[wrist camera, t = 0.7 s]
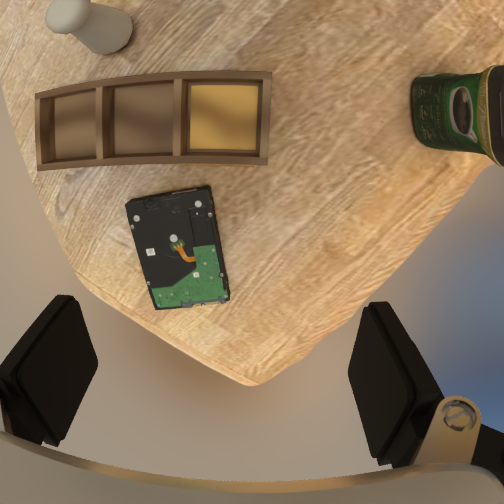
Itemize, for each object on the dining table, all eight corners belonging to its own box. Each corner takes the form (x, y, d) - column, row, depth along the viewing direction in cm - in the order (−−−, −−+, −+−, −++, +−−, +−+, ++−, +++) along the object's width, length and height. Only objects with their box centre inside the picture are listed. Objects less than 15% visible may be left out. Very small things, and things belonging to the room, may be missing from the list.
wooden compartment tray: (52, 93, 31) (34, 93, 27) (269, 77, 31) (271, 72, 27) (54, 167, 35) (37, 173, 31) (265, 162, 35) (267, 168, 31)
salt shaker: (95, 62, 29) (33, 48, 18) (94, 22, 27) (36, -4, 15) (139, 50, 29) (88, 25, 17) (138, 9, 27) (90, -29, 15)
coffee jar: (459, 148, 34) (563, 182, 17) (411, 147, 34) (514, 181, 17) (455, 77, 30) (561, 76, 13) (405, 71, 30) (509, 54, 13)
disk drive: (130, 198, 37) (159, 301, 43) (122, 204, 35) (154, 312, 40) (211, 182, 37) (232, 293, 42) (207, 187, 34) (231, 304, 40)
